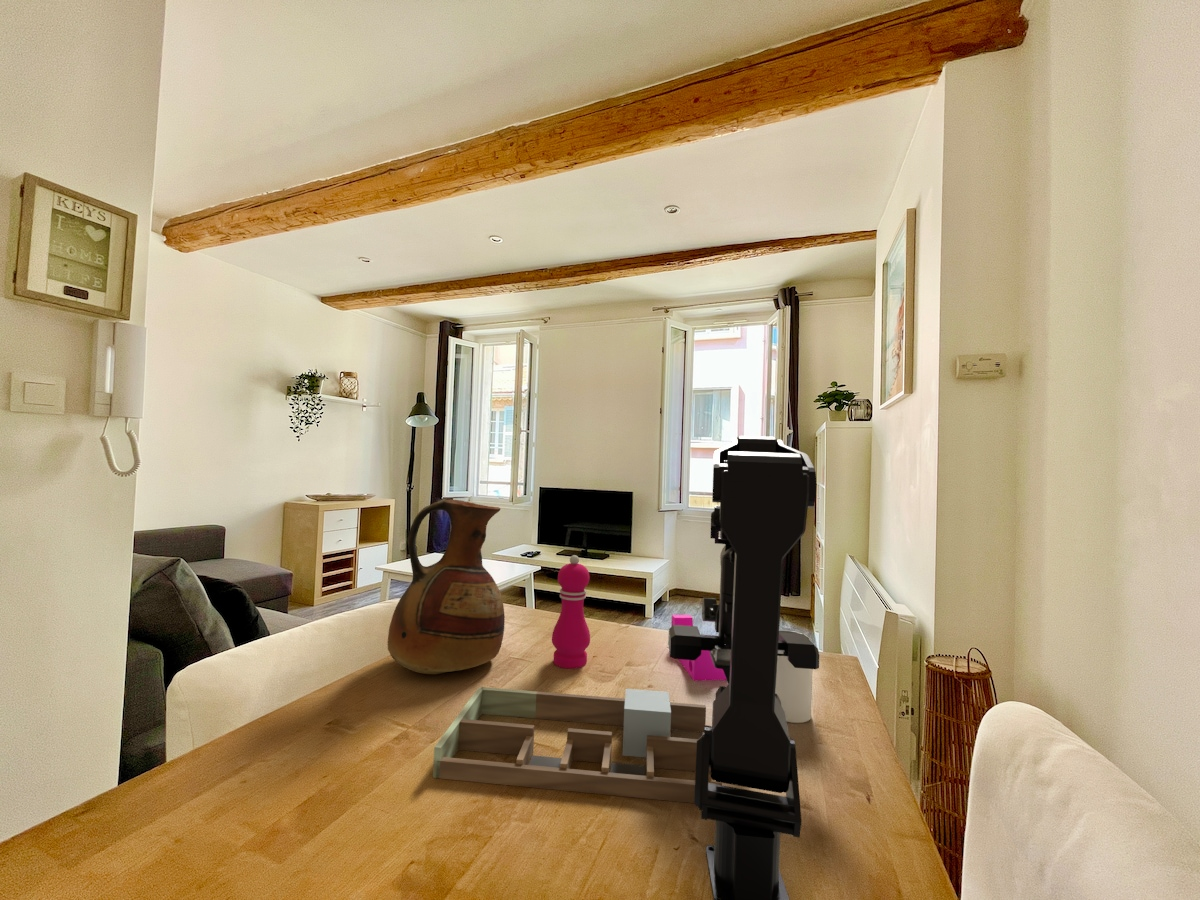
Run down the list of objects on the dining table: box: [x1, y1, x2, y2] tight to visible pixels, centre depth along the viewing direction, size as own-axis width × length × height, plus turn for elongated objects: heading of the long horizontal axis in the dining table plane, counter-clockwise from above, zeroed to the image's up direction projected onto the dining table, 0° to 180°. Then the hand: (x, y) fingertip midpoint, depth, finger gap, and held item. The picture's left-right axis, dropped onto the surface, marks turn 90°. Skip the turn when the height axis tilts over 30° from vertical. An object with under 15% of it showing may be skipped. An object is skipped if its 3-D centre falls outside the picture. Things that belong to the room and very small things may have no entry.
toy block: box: [670, 614, 727, 682], centre depth 97 cm, size 15×6×8 cm, turn 8°
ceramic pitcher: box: [387, 498, 506, 675], centre depth 93 cm, size 20×20×30 cm
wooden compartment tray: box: [432, 686, 723, 804], centre depth 66 cm, size 16×33×4 cm, turn 85°
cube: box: [622, 688, 671, 758], centre depth 68 cm, size 6×6×6 cm
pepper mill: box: [551, 554, 591, 670], centre depth 95 cm, size 7×7×20 cm
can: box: [775, 629, 814, 724], centre depth 78 cm, size 6×6×12 cm
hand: (738, 711), depth 67 cm, fingers closed
